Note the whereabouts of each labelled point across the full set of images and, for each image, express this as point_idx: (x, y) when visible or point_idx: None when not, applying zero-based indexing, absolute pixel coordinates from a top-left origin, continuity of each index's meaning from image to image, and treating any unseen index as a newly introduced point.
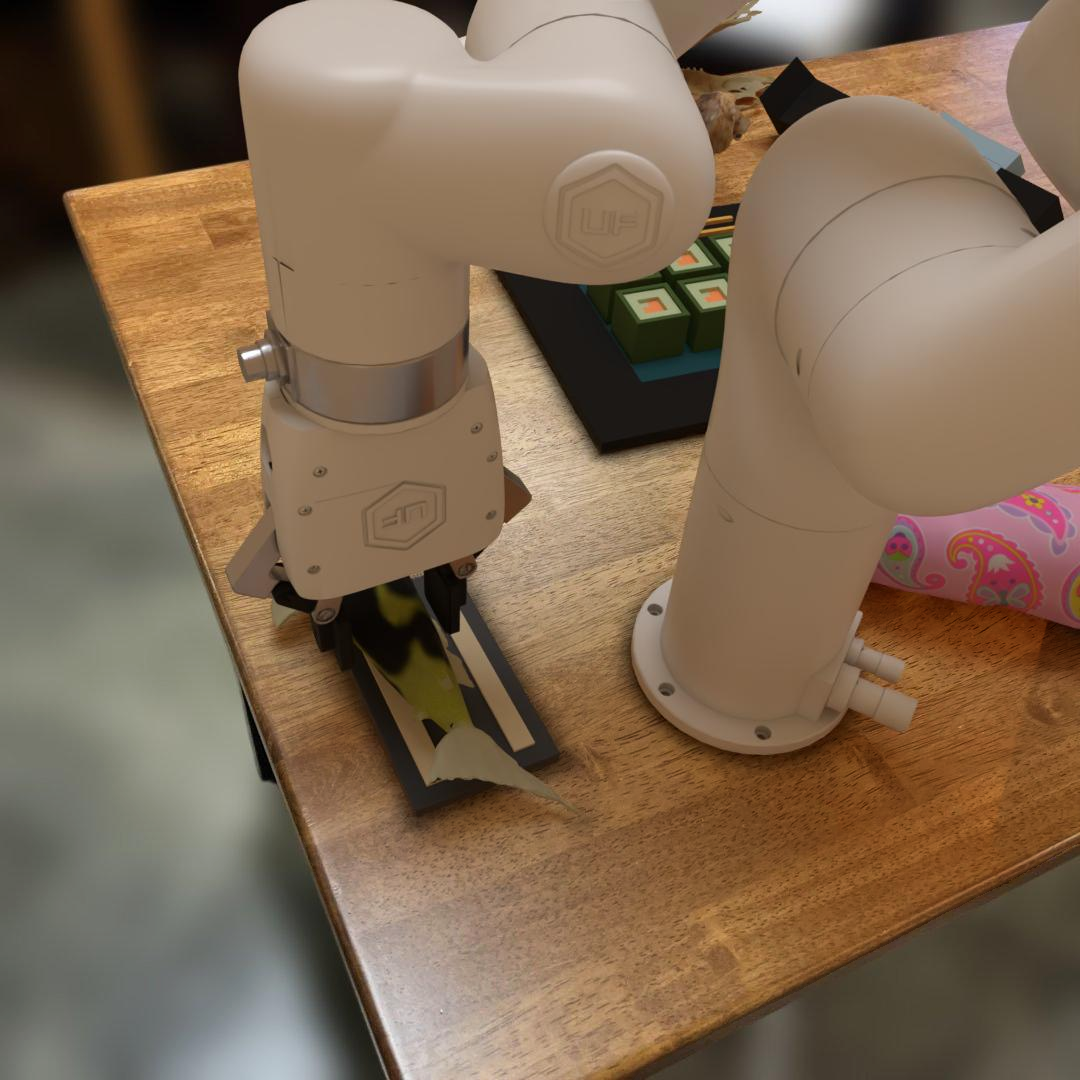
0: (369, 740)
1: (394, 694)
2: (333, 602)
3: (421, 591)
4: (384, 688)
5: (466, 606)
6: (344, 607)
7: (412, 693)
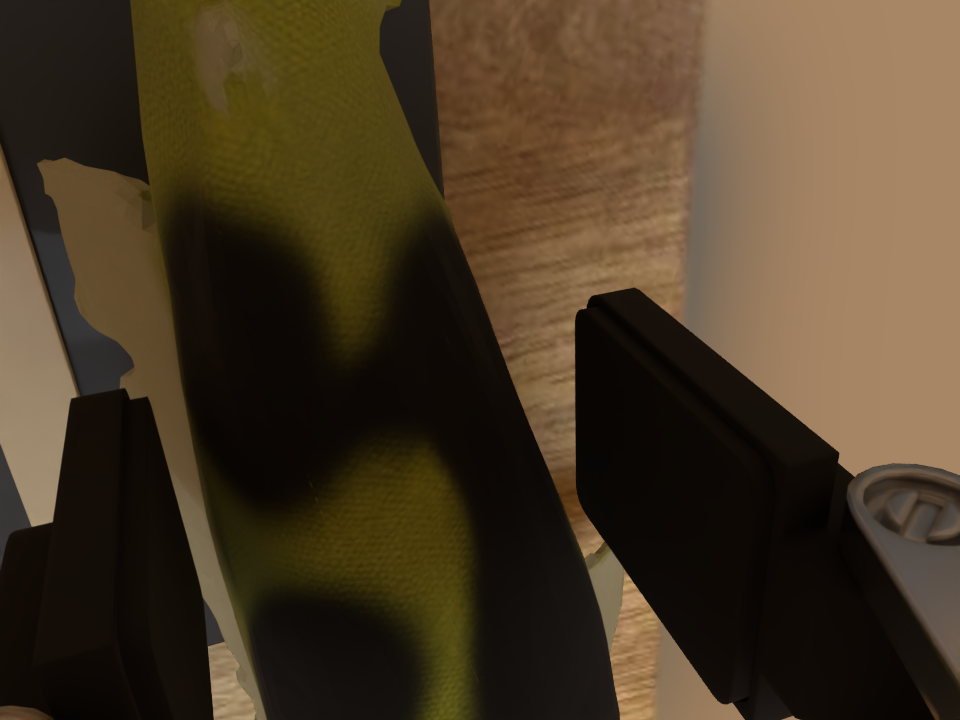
0: (454, 105)
1: None
2: (949, 580)
3: None
4: None
5: (5, 545)
6: (747, 551)
7: (389, 99)
